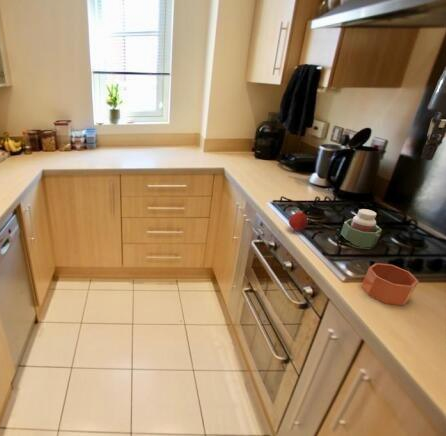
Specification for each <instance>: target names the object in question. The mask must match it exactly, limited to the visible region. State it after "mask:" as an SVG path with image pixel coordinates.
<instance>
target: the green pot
mask: <svg viewBox="0 0 446 436" xmlns="http://www.w3.org/2000/svg"><path fill="white" fill-rule="evenodd" d="M352 220H353V218H349V219H346V221H345V220H344V223H343V224H342V228H341V231H340V234H341V235H342V236H343V237H344V238H345V239H346V240H348V241H350V242H351V243H352V244H354V245H356V246H360V247H356V246H354V245H351V244H349V243H344V244H345V245H348V246H350V247H352V248H355V249H360V250H361V249H363V250H371V249H373V248H374V247H376V245H377V242H378V241H379V238H380V236H381V234H382V231H383V229H382V228H380V226H378V225H377V224H376V225H375V227H374V230H373V232H362V231H360V230H357V229H354V228H351V227H350V226H351V223H352ZM340 234H339V235H340ZM375 244H376V245H375ZM373 245H374V246H373ZM372 246H373V247H372ZM364 247H371V248H364Z"/></svg>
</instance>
